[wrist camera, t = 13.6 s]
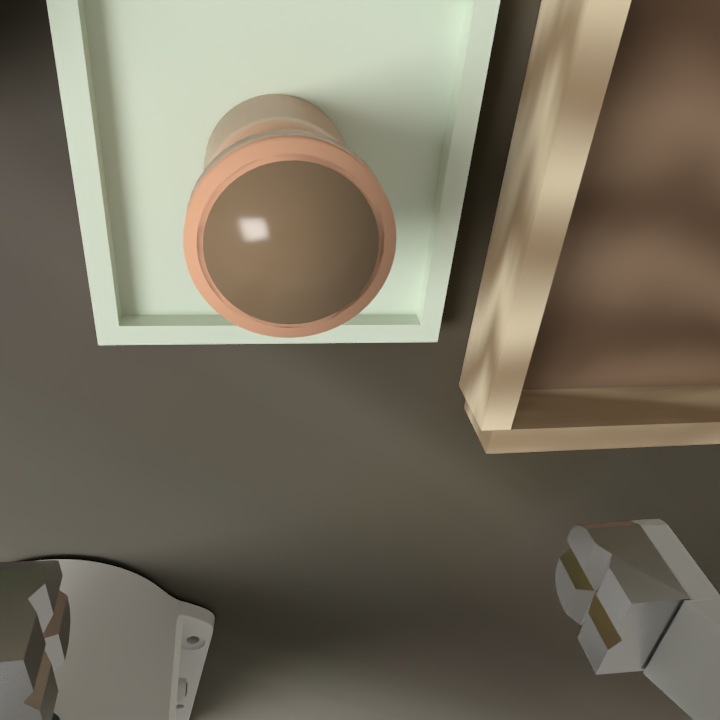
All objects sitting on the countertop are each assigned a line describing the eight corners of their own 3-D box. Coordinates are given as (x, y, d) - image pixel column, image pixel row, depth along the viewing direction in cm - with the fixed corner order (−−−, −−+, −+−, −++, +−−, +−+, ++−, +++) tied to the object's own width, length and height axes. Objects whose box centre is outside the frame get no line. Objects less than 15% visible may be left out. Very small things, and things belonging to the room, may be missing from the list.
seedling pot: (350, 245, 30) (384, 338, 23) (198, 242, 29) (188, 340, 22) (364, 88, 26) (410, 146, 20) (190, 77, 25) (176, 135, 18)
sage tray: (428, 323, 34) (437, 341, 33) (104, 324, 31) (98, 345, 30) (489, -33, 25) (505, -30, 24) (47, -79, 22) (34, -79, 21)
